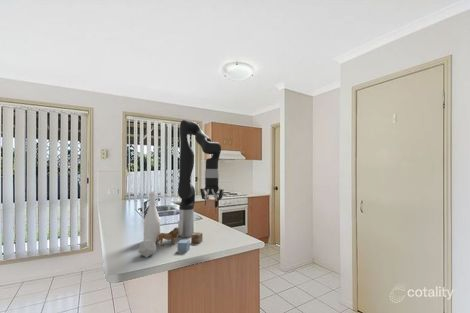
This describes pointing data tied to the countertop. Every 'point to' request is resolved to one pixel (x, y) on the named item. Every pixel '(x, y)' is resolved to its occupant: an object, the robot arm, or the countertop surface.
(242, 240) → the countertop surface
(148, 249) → the grey rounded lump
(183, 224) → the robot arm
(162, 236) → the lion figurine
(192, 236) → the walnut cube
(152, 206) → the wine bottle
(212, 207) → the terracotta cube
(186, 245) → the slate blue cube
